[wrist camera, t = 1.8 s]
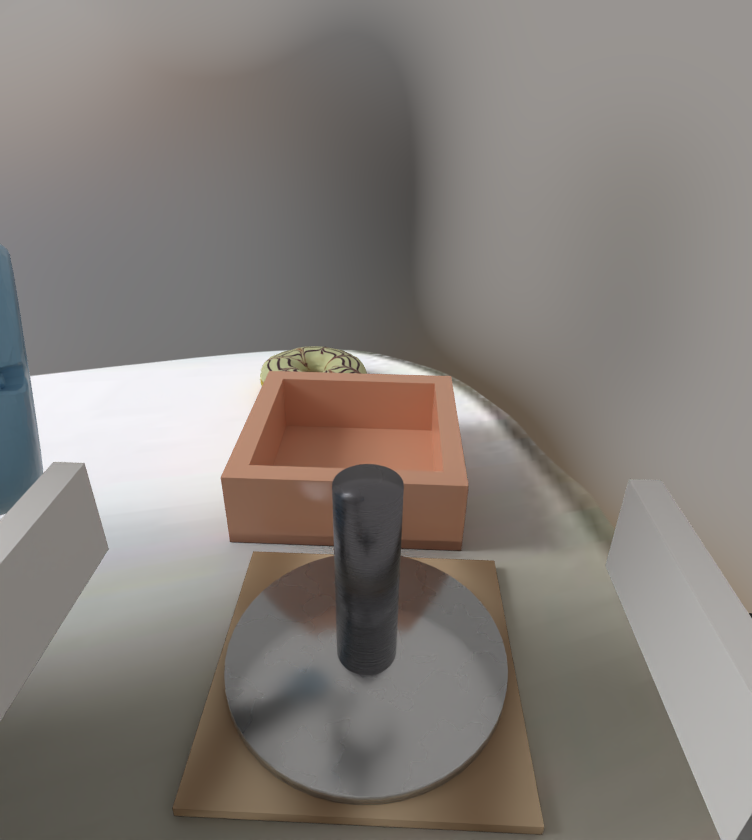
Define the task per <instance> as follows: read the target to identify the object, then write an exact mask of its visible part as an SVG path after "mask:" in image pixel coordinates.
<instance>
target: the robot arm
mask: <svg viewBox="0 0 752 840" xmlns="http://www.w3.org/2000/svg"><path fill="white" fill-rule="evenodd" d="M2 514H5V516H4V517H3V518H2V519H1V520H0V721H1V720H2V718H3V716H4V715H5V713H6V712H7V710H8V708H9V707H10V705H11V704H12V702H13V701H14V699H15V697H16V696H17V694H18V693H19V691H20V689H21V688H22V686H23V685H24V683H25V681H26V680H27V678H28V677H29V675H30V673H31V672H32V670H33V669H34V667H35V665H36V664H37V662H38V661H39V659H40V658H41V656H42V654H43V653H44V651H45V650H46V648H47V646H48V645H49V643H50V642H51V640H52V638H53V637H54V635H55V634H56V632H57V630H58V629H59V627H60V626H61V624H62V623H63V621H64V619H65V618H66V616H67V615H68V613H69V611H70V610H71V608H72V607H73V605H74V603H75V602H76V600H77V599H78V597H79V595H80V594H81V592H82V591H83V589H84V587H85V586H86V584H87V583H88V581H89V580H90V578H91V576H92V575H93V573H94V572H95V570H96V568H97V567H98V565H99V564H100V562H101V560H102V559H103V557H104V556H105V554H106V552H107V551H108V549H109V548H108V544H107V541H106V537H105V534H104V530H103V527H102V523H101V520H100V516H99V513H98V509H97V506H96V502H95V499H94V495H93V492H92V488H91V484H90V481H89V477H88V474H87V470H86V467H85V463H68V462H53V463H52V464H51V465H50V466H49V468H48V469H47V470H46V471H45V472H44V473H43V465H42V457H41V449H40V442H39V435H38V428H37V421H36V414H35V407H34V400H33V393H32V387H31V380H30V373H29V367H28V360H27V354H26V348H25V342H24V336H23V329H22V322H21V315H20V309H19V303H18V297H17V291H16V285H15V279H14V273H13V268H12V264H11V258H10V254H9V252H8V250H7V249H6V248H5V247H4V246H3V245H2V244H0V515H2ZM605 566H606V568H607V571H608V573H609V575H610V578H611V580H612V583H613V585H614V587H615V590H616V592H617V594H618V597H619V599H620V602H621V604H622V606H623V609H624V611H625V613H626V616H627V618H628V621H629V623H630V625H631V628H632V630H633V632H634V635H635V637H636V640H637V642H638V644H639V647H640V649H641V651H642V654H643V656H644V659H645V661H646V663H647V666H648V668H649V670H650V673H651V675H652V678H653V680H654V682H655V685H656V687H657V689H658V692H659V694H660V697H661V699H662V701H663V704H664V706H665V708H666V711H667V713H668V716H669V718H670V720H671V723H672V725H673V727H674V730H675V732H676V735H677V737H678V739H679V742H680V744H681V746H682V749H683V751H684V754H685V756H686V758H687V761H688V763H689V765H690V768H691V770H692V773H693V775H694V777H695V780H696V782H697V784H698V787H699V789H700V792H701V794H702V796H703V799H704V801H705V803H706V806H707V808H708V811H709V813H710V815H711V818H712V820H713V822H714V825H715V827H716V830H717V832H718V834H719V837H720V839H721V840H752V614H751V613H748V612H747V610H746V609H745V607H744V606H743V604H742V603H741V601H740V600H739V599H738V597H737V595H736V594H735V592H734V590H733V589H732V587H731V586H730V584H729V583H728V581H727V580H726V578H725V577H724V575H723V573H722V572H721V570H720V569H719V567H718V566H717V564H716V563H715V561H714V560H713V558H712V557H711V555H710V554H709V552H708V551H707V549H706V547H705V546H704V544H703V543H702V541H701V540H700V538H699V537H698V535H697V534H696V532H695V531H694V529H693V528H692V526H691V525H690V523H689V521H688V520H687V518H686V517H685V516H684V514H683V512H682V511H681V509H680V508H679V506H678V505H677V503H676V501H675V500H674V498H673V497H672V496H671V494H670V492H669V491H668V489H667V488H666V486H665V485H664V483H663V482H662V480H640V479H629V481H628V485H627V488H626V492H625V496H624V499H623V503H622V507H621V510H620V514H619V518H618V522H617V525H616V528H615V532H614V536H613V540H612V543H611V547H610V551H609V554H608V558H607V562H606V565H605Z"/></svg>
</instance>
